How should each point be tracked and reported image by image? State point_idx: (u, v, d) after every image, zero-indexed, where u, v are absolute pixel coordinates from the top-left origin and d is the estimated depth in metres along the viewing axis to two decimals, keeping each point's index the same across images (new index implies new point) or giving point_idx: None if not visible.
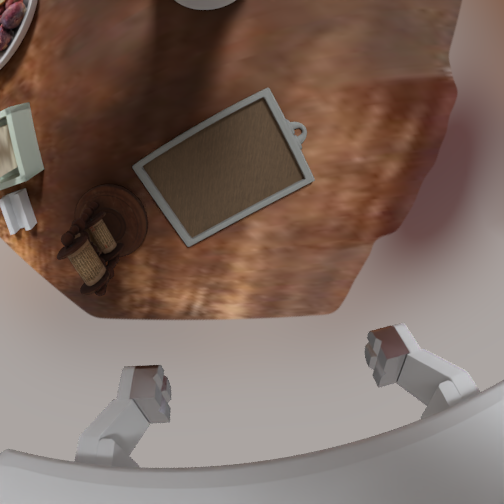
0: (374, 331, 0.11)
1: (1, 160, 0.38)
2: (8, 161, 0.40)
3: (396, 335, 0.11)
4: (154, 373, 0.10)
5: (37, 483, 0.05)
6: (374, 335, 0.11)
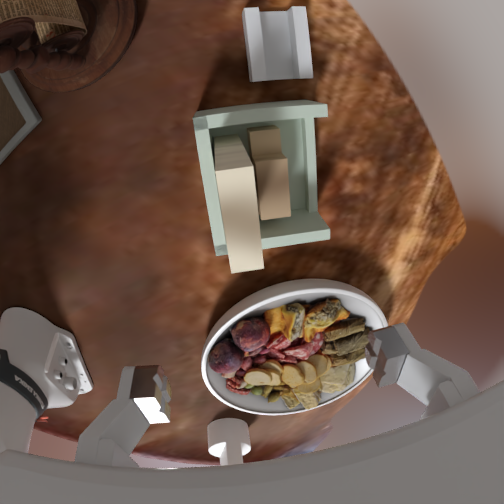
0: (374, 331, 0.11)
1: None
2: None
3: (396, 335, 0.11)
4: (154, 373, 0.10)
5: (37, 483, 0.05)
6: (374, 335, 0.11)
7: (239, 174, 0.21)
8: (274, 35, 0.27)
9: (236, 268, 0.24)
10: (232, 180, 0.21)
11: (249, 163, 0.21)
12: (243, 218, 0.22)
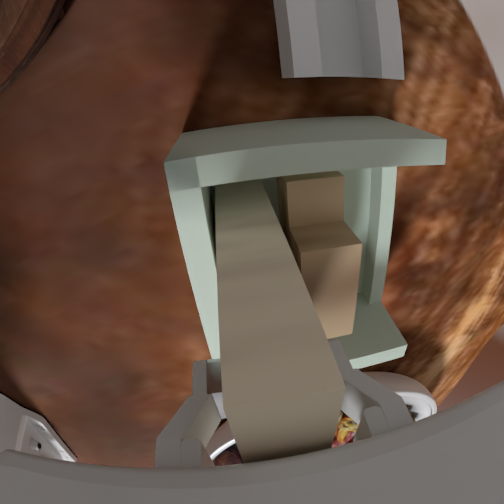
0: None
1: None
2: None
3: None
4: None
5: (37, 483, 0.05)
6: None
7: (299, 407, 0.06)
8: None
9: None
10: (275, 420, 0.06)
11: (328, 361, 0.07)
12: None
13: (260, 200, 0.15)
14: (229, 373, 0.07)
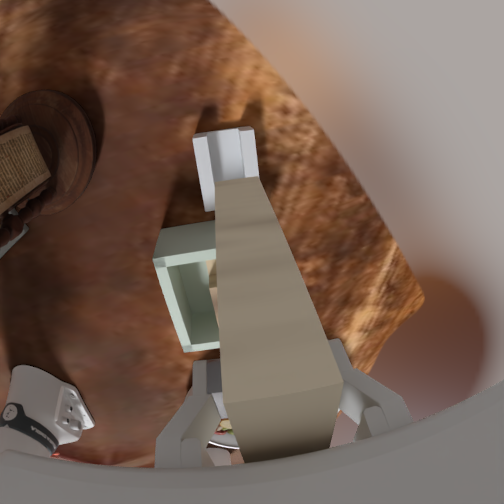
0: None
1: None
2: None
3: None
4: None
5: (37, 483, 0.05)
6: None
7: (298, 402, 0.06)
8: (226, 156, 0.33)
9: None
10: (275, 415, 0.06)
11: (326, 357, 0.07)
12: (294, 455, 0.08)
13: (259, 199, 0.15)
14: (229, 368, 0.07)
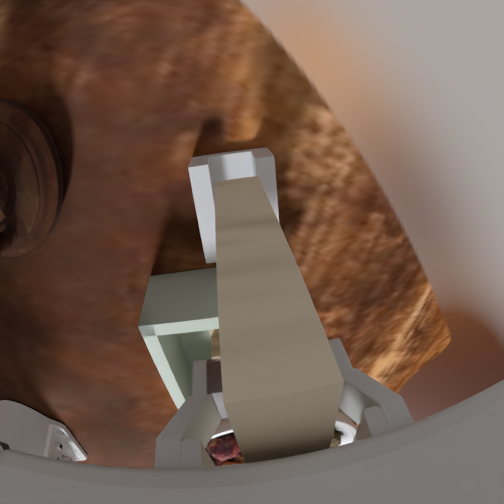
0: None
1: None
2: None
3: None
4: None
5: (37, 483, 0.05)
6: None
7: (298, 402, 0.06)
8: None
9: None
10: (275, 415, 0.06)
11: (326, 356, 0.07)
12: (295, 455, 0.08)
13: (259, 199, 0.15)
14: (229, 368, 0.07)
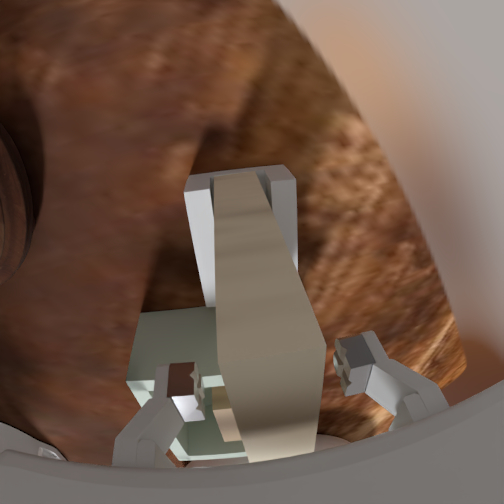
0: (340, 339, 0.11)
1: None
2: None
3: (363, 344, 0.11)
4: (191, 370, 0.11)
5: (37, 483, 0.05)
6: (340, 343, 0.11)
7: (286, 365, 0.07)
8: None
9: None
10: (265, 377, 0.07)
11: (311, 324, 0.08)
12: (286, 425, 0.09)
13: (255, 192, 0.16)
14: (224, 334, 0.08)
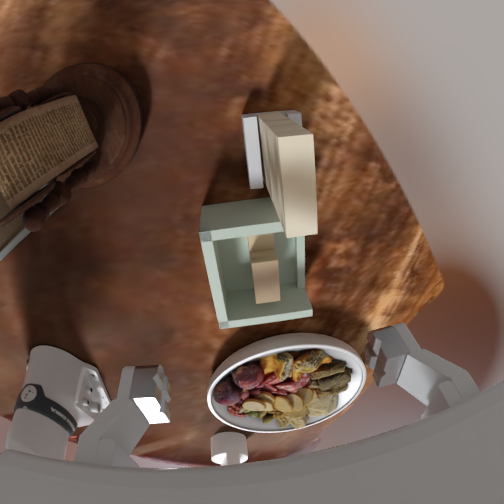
0: (374, 331, 0.11)
1: (272, 157, 0.26)
2: (268, 144, 0.27)
3: (396, 335, 0.11)
4: (154, 373, 0.10)
5: (37, 483, 0.05)
6: (374, 335, 0.11)
7: (300, 141, 0.21)
8: None
9: (291, 233, 0.25)
10: (293, 147, 0.21)
11: (308, 132, 0.22)
12: (302, 183, 0.23)
13: (281, 116, 0.30)
14: (278, 134, 0.22)
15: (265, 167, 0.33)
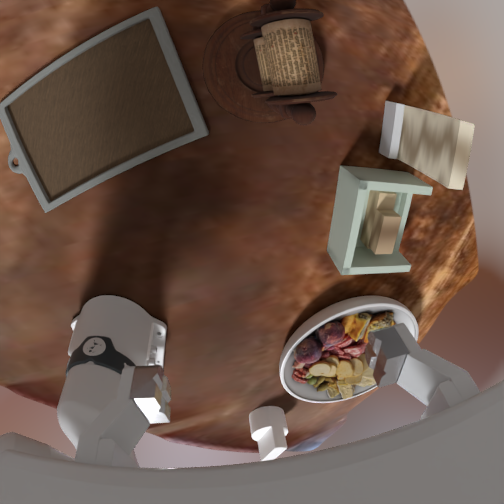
0: (374, 331, 0.11)
1: (436, 133, 0.31)
2: (428, 125, 0.32)
3: (396, 335, 0.11)
4: (154, 373, 0.10)
5: (37, 483, 0.05)
6: (374, 335, 0.11)
7: (468, 126, 0.27)
8: None
9: (451, 185, 0.30)
10: (465, 128, 0.27)
11: None
12: (464, 153, 0.28)
13: None
14: None
15: (404, 143, 0.38)
